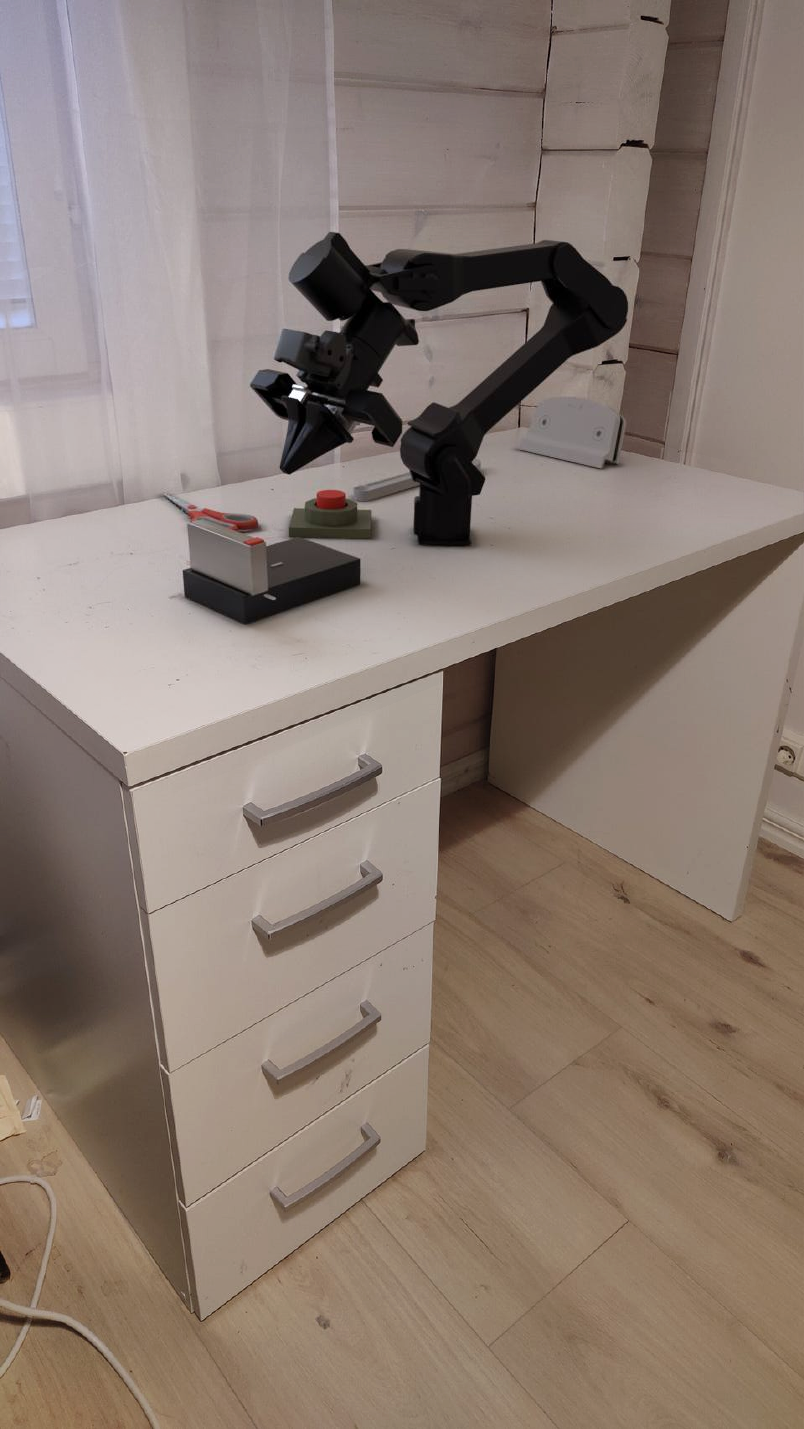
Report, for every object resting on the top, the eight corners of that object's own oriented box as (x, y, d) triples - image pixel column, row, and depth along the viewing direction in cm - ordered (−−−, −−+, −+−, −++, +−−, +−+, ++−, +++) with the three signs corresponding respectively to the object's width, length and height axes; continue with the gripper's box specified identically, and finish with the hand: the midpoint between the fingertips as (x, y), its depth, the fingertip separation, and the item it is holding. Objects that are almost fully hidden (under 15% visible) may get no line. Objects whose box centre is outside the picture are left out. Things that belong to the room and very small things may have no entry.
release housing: (371, 518, 131) (371, 496, 129) (370, 538, 124) (370, 514, 122) (294, 517, 130) (293, 494, 129) (288, 536, 123) (288, 513, 122)
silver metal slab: (190, 569, 104) (186, 520, 101) (206, 565, 105) (202, 516, 103) (252, 595, 98) (250, 544, 95) (268, 590, 99) (266, 539, 97)
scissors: (166, 494, 138) (165, 484, 137) (269, 529, 126) (268, 518, 125) (118, 505, 133) (117, 494, 132) (220, 543, 121) (220, 531, 120)
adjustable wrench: (362, 503, 137) (362, 491, 136) (332, 493, 141) (332, 481, 140) (486, 472, 152) (487, 460, 151) (456, 464, 156) (456, 452, 155)
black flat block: (130, 606, 103) (127, 577, 101) (290, 558, 116) (290, 532, 115) (217, 649, 94) (215, 617, 93) (378, 591, 108) (378, 563, 107)
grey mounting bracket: (516, 448, 165) (534, 387, 163) (532, 454, 169) (549, 393, 167) (602, 468, 155) (622, 403, 153) (617, 474, 159) (636, 410, 157)
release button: (346, 503, 127) (346, 489, 126) (345, 512, 124) (345, 498, 123) (317, 502, 127) (317, 489, 126) (315, 511, 124) (315, 497, 123)
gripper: (260, 289, 107) (182, 409, 105) (385, 307, 96) (301, 441, 94) (315, 359, 116) (245, 471, 114) (436, 383, 105) (360, 507, 103)
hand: (284, 471), depth 106 cm, fingers closed
